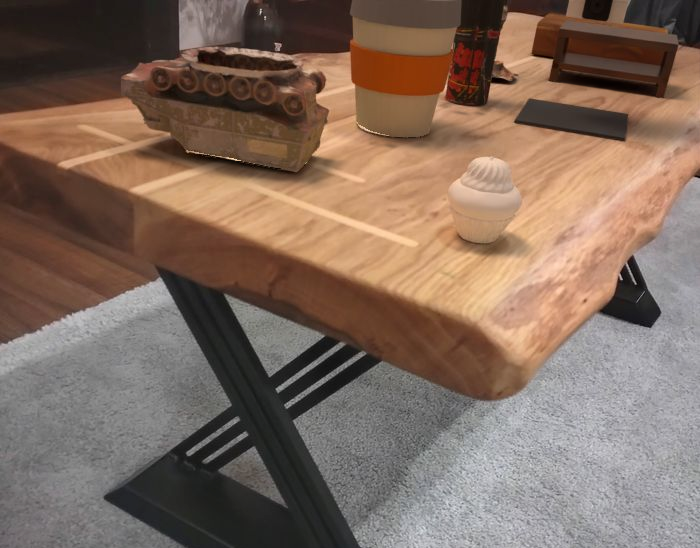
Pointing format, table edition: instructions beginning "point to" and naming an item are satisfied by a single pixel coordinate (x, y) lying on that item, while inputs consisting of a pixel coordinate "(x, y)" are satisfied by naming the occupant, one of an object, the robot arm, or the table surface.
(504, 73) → the plant with pod
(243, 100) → the toy armored vehicle
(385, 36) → the reusable coffee cup
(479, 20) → the deodorant
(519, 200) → the muffin
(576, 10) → the cream arch-topped block
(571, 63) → the rack
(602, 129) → the mat
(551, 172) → the table surface
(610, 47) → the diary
